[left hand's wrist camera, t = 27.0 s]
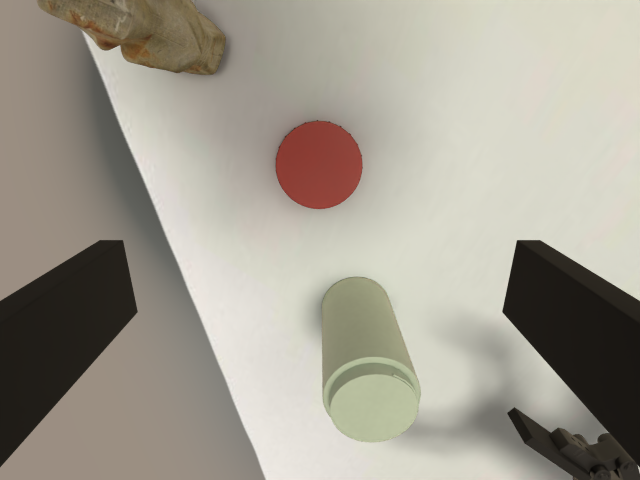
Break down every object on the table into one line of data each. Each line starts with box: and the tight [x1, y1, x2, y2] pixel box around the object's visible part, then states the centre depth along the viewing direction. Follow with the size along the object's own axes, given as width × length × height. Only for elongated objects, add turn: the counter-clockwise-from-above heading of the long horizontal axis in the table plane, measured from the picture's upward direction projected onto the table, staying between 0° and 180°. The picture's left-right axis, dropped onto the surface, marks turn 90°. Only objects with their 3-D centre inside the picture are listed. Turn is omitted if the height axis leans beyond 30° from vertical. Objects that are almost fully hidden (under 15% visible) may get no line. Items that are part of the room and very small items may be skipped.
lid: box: [276, 120, 363, 209], centre depth 36 cm, size 9×9×2 cm
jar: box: [322, 277, 421, 442], centre depth 35 cm, size 8×8×15 cm
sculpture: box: [37, 0, 225, 75], centre depth 26 cm, size 6×7×15 cm
